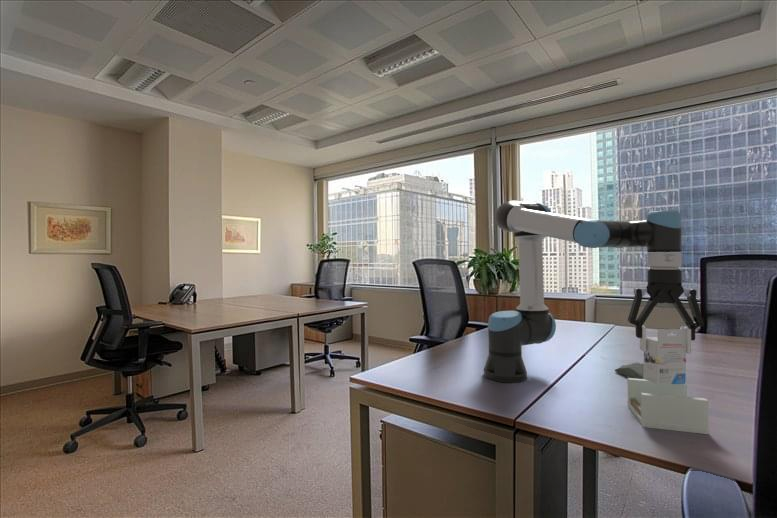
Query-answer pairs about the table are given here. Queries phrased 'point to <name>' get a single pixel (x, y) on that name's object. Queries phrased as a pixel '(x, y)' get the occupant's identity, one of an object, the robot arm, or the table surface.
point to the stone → (632, 370)
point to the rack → (667, 406)
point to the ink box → (665, 357)
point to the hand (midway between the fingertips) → (664, 351)
